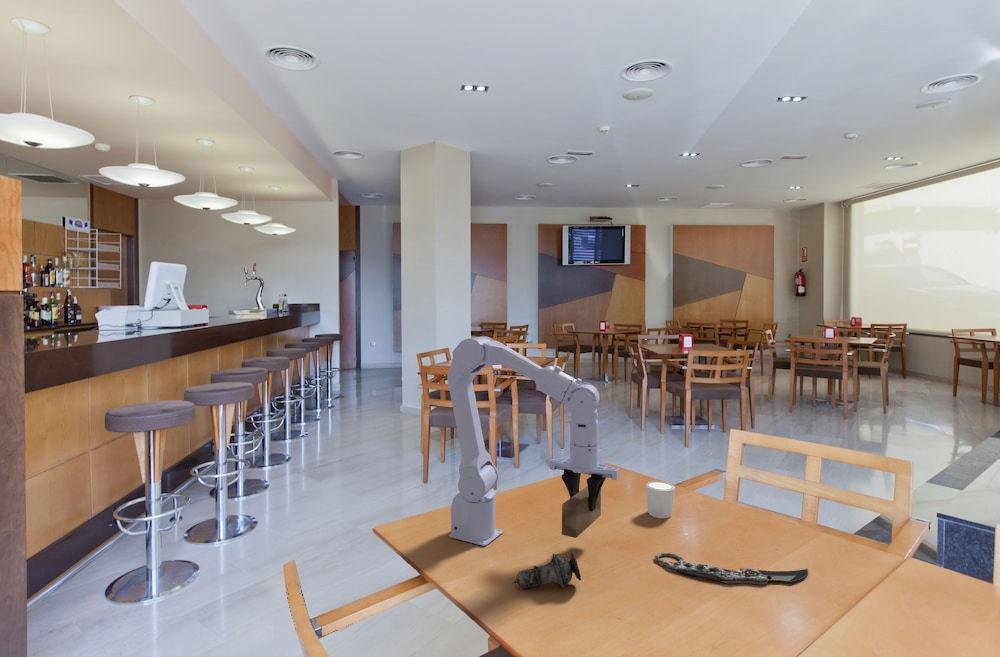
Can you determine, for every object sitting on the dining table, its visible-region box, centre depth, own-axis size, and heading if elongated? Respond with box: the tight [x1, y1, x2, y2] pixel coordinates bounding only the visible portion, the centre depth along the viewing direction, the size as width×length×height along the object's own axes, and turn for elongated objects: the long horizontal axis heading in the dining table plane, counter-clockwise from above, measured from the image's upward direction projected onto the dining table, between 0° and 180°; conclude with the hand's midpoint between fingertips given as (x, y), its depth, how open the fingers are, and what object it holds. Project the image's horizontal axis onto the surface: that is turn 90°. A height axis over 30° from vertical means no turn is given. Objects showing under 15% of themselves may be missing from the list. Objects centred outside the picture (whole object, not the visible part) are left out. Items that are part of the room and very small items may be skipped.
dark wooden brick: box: [561, 485, 602, 539], centre depth 110 cm, size 3×14×6 cm, turn 150°
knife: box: [653, 552, 809, 586], centre depth 102 cm, size 28×2×10 cm
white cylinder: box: [645, 480, 676, 519], centre depth 130 cm, size 7×7×7 cm
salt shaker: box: [512, 549, 582, 590], centre depth 97 cm, size 6×6×12 cm
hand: (583, 508), depth 110 cm, fingers closed on dark wooden brick, 3 cm apart
